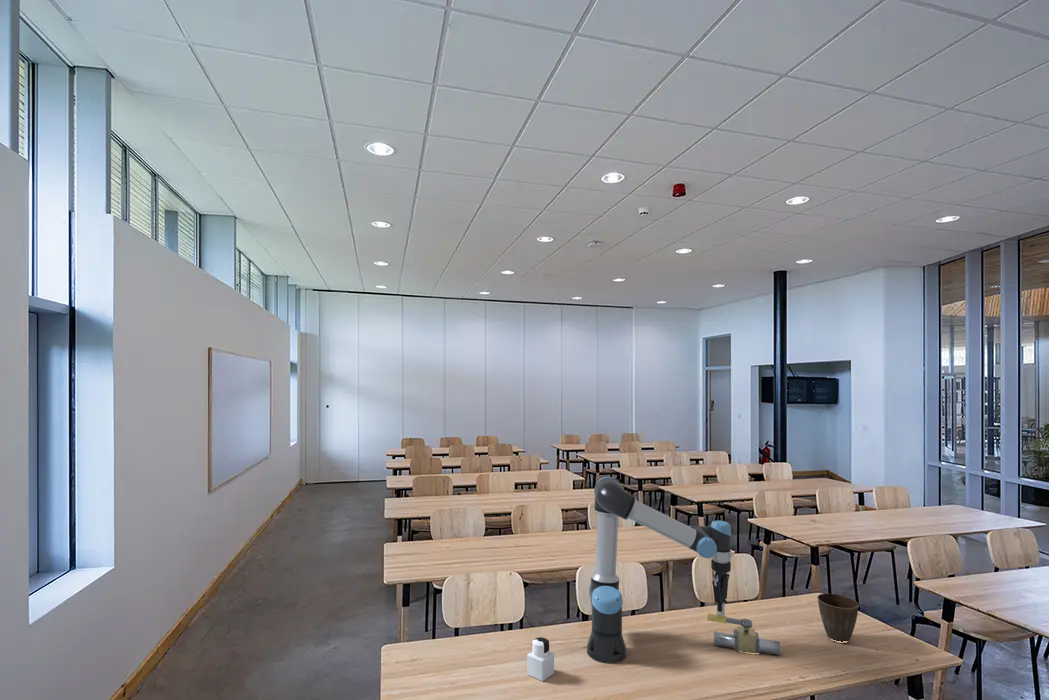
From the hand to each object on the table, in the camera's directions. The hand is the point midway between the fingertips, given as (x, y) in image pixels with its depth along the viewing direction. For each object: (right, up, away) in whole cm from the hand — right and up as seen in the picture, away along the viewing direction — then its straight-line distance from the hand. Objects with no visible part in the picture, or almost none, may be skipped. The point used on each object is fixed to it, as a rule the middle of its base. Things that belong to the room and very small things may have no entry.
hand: (720, 618), depth 222 cm
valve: (+8, -9, -6) cm, 14 cm away
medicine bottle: (-74, -7, -27) cm, 80 cm away
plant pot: (+50, -11, +3) cm, 51 cm away
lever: (+2, 0, -4) cm, 4 cm away
